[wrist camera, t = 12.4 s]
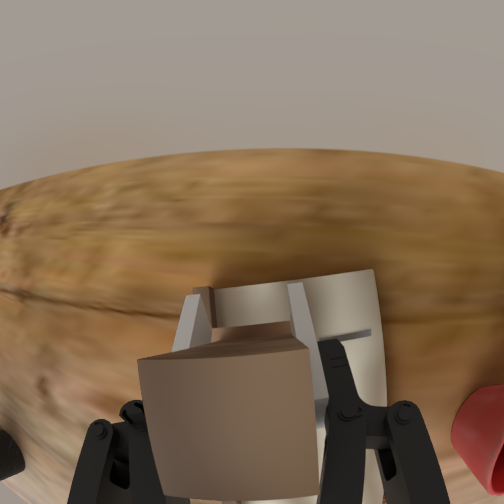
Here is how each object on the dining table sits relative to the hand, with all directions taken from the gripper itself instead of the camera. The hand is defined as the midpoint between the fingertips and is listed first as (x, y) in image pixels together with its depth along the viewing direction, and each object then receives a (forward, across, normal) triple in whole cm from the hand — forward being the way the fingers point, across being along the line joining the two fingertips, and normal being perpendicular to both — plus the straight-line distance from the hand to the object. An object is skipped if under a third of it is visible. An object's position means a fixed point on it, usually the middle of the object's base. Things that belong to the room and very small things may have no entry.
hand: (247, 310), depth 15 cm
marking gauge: (0, 0, -6) cm, 6 cm away
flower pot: (-5, +22, -18) cm, 28 cm away
